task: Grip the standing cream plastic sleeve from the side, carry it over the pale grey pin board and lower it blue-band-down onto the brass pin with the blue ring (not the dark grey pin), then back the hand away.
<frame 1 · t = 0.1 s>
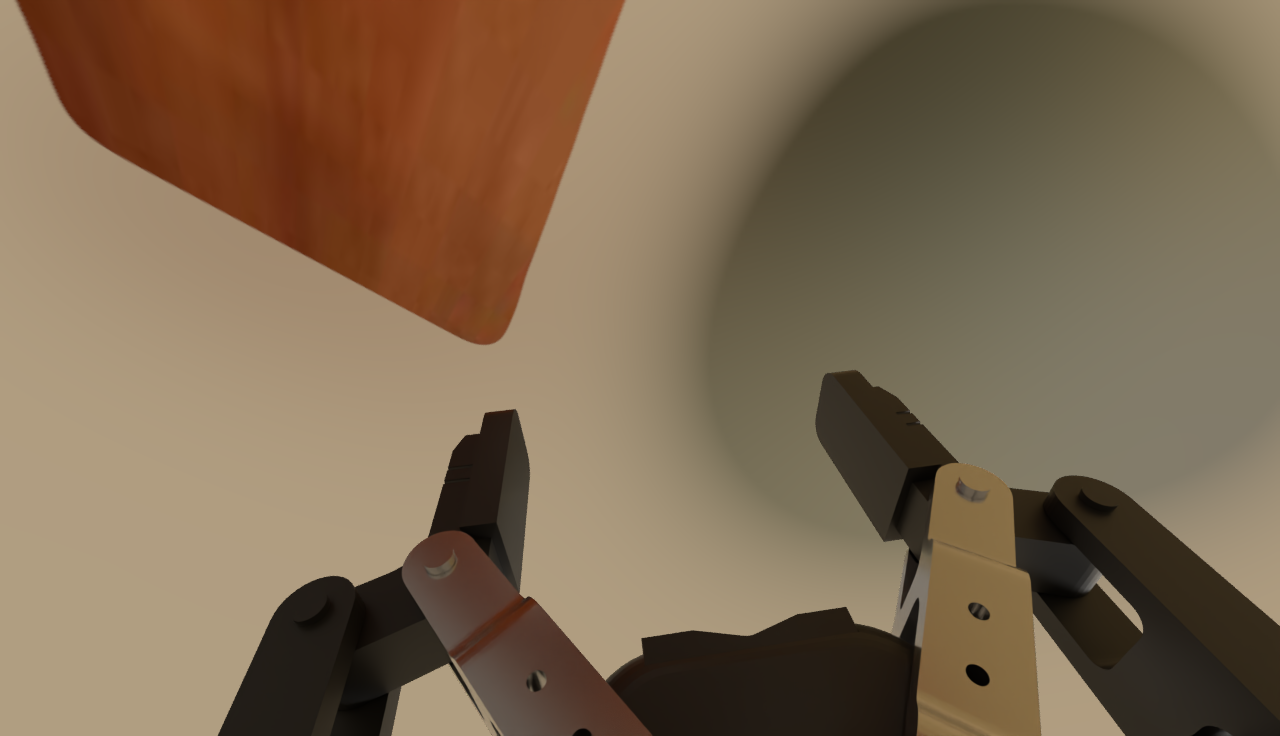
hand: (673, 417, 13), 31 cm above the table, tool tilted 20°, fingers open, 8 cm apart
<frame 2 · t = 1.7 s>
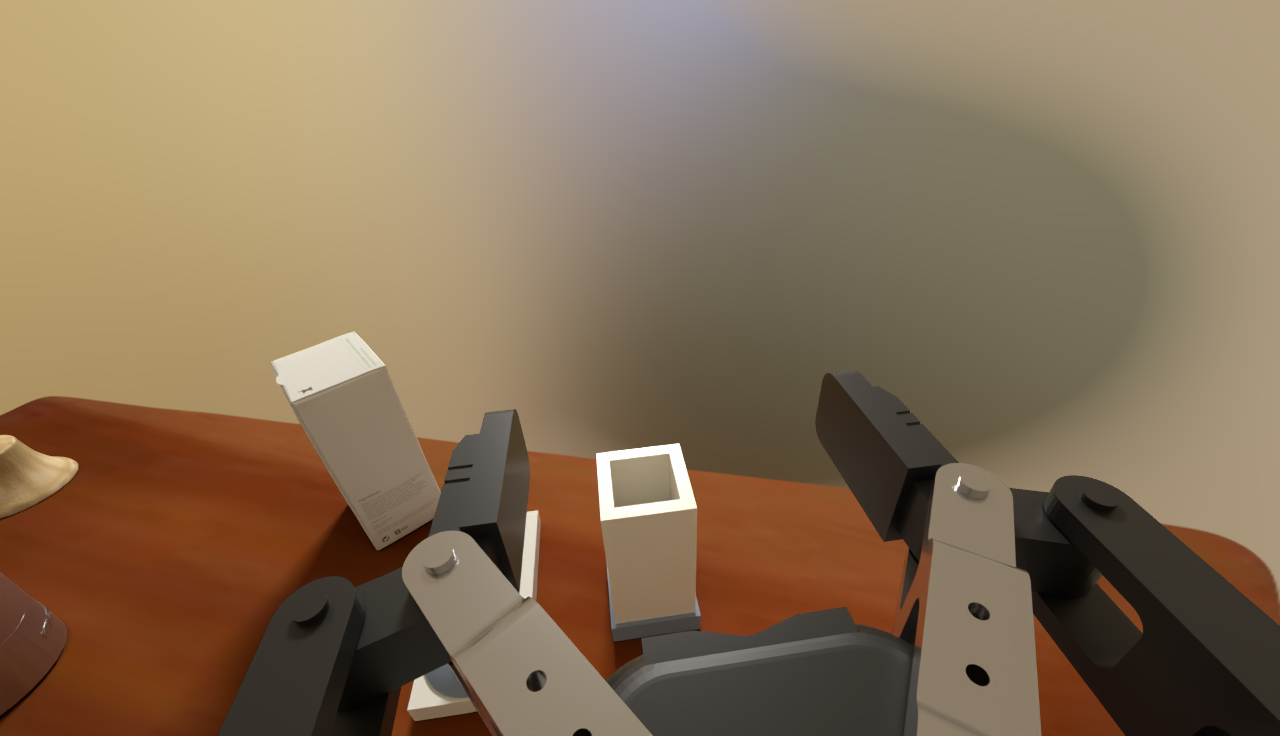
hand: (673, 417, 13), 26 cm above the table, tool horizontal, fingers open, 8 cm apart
skincare box: (396, 507, 45), on the table
hand bell: (24, 491, 49), on the table
sleeve: (651, 594, 36), on the table
pin board: (488, 605, 36), on the table
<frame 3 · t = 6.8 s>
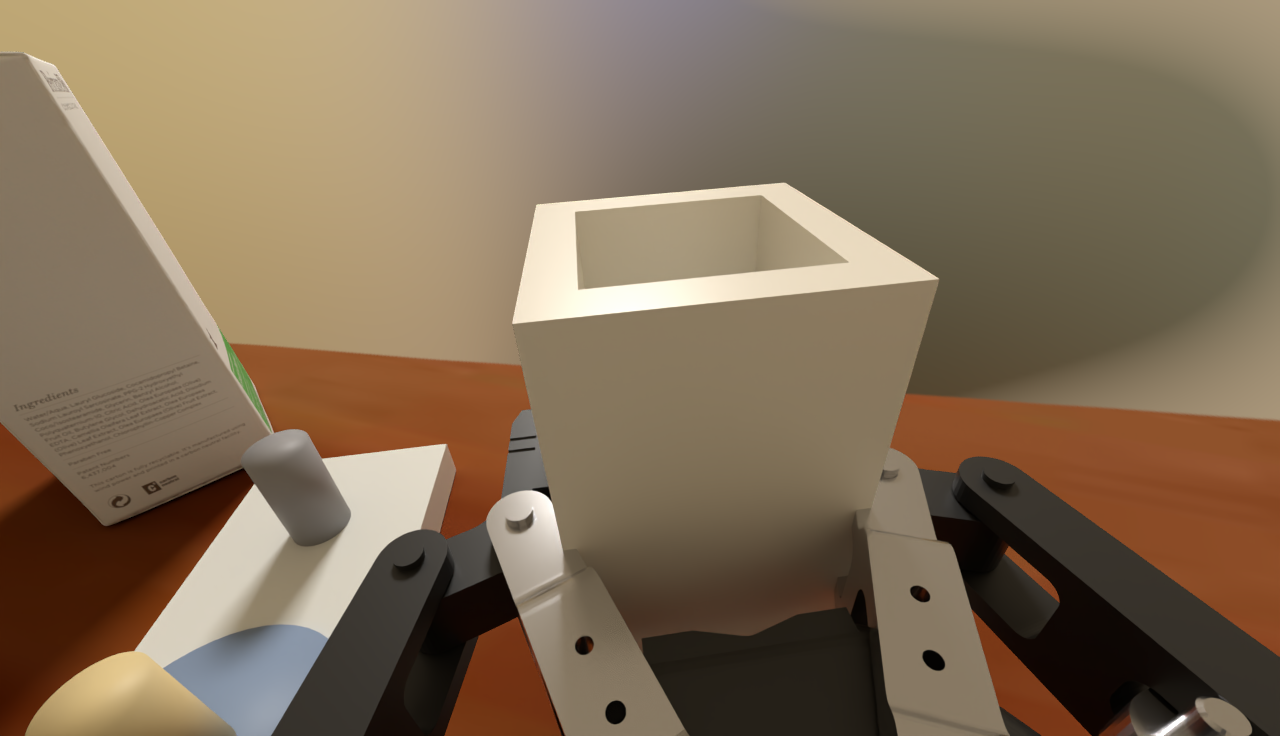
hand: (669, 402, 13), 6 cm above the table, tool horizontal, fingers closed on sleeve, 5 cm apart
skincare box: (190, 449, 24), on the table
sleeve: (689, 623, 15), on the table, touching gripper
pin board: (294, 650, 15), on the table
when the fingers open (9 cm above the table, at t = 11.5 s): sleeve drops 1 cm, resting on pin board.
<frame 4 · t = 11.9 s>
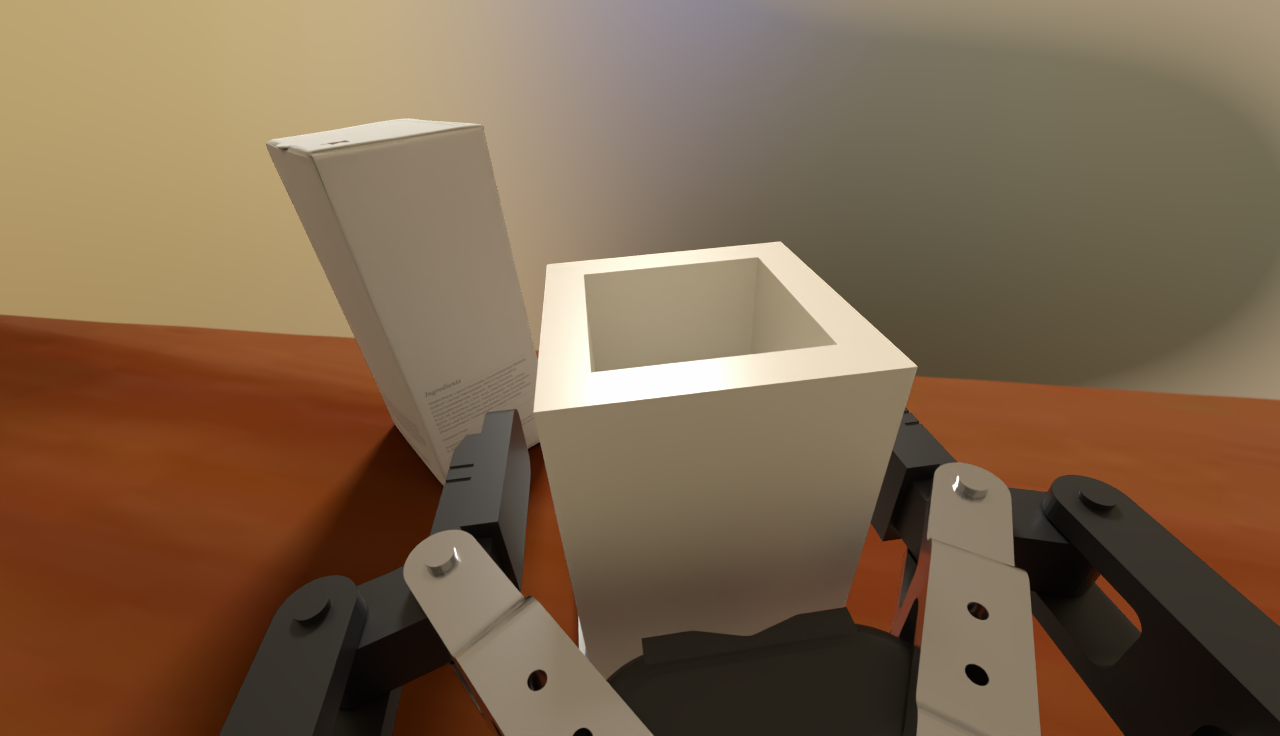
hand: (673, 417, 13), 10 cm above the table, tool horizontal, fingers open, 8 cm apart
skincare box: (468, 432, 28), on the table
sleeve: (690, 647, 16), point 2 cm above the table, touching pin board
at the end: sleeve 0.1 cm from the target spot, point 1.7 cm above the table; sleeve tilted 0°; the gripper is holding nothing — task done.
